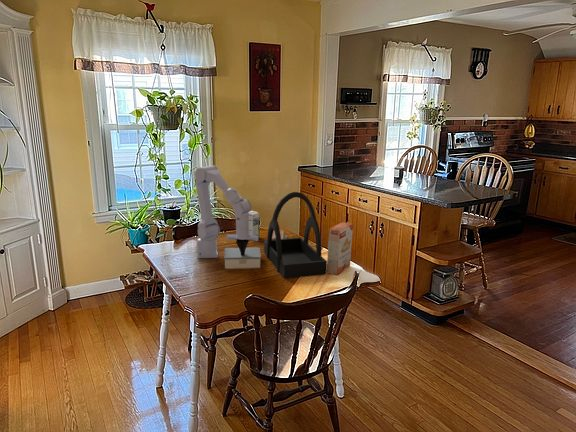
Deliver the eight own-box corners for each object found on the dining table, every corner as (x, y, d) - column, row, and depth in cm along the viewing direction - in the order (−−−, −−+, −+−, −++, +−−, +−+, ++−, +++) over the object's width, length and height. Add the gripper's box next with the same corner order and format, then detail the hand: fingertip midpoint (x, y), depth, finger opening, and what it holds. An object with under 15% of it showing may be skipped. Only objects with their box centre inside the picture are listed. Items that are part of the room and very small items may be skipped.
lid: (224, 259, 195) (224, 257, 195) (224, 249, 209) (224, 248, 209) (261, 258, 197) (261, 257, 197) (259, 248, 211) (259, 247, 211)
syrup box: (252, 239, 239) (252, 214, 235) (244, 237, 242) (244, 212, 239) (259, 237, 243) (259, 212, 240) (251, 235, 247) (251, 210, 243)
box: (225, 269, 197) (224, 259, 196) (225, 257, 211) (225, 249, 209) (260, 268, 199) (260, 259, 197) (258, 257, 212) (258, 248, 211)
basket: (262, 252, 220) (263, 185, 211) (301, 249, 226) (303, 183, 217) (282, 279, 187) (283, 201, 178) (327, 274, 194) (331, 199, 185)
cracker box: (338, 275, 192) (340, 230, 187) (326, 272, 195) (328, 228, 190) (351, 266, 204) (353, 223, 198) (339, 263, 207) (341, 221, 201)
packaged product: (269, 228, 244) (287, 229, 244) (269, 237, 245) (286, 237, 245) (267, 238, 227) (286, 239, 227) (267, 247, 228) (286, 248, 228)
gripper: (259, 224, 200) (259, 252, 203) (228, 223, 201) (229, 251, 204) (257, 229, 193) (257, 257, 196) (225, 227, 194) (225, 256, 198)
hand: (242, 255), depth 200 cm, fingers closed, pressing on lid
